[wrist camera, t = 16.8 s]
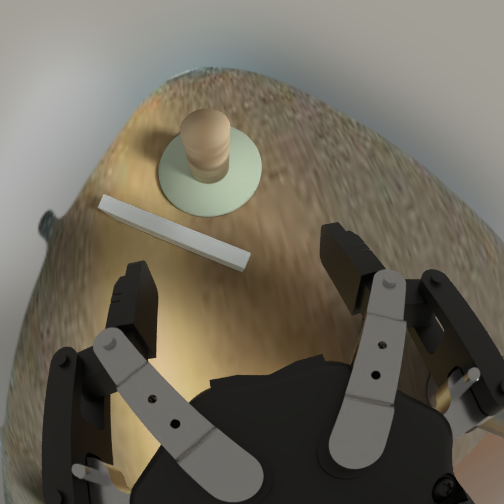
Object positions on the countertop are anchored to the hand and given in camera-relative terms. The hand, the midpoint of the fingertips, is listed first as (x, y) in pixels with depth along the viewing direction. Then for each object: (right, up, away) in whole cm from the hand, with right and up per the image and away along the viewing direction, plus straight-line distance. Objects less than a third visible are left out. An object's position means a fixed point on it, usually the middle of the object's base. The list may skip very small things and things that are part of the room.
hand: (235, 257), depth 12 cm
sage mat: (-4, +10, +19) cm, 22 cm away
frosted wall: (-7, +2, +18) cm, 19 cm away
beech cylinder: (-4, +10, +18) cm, 21 cm away
